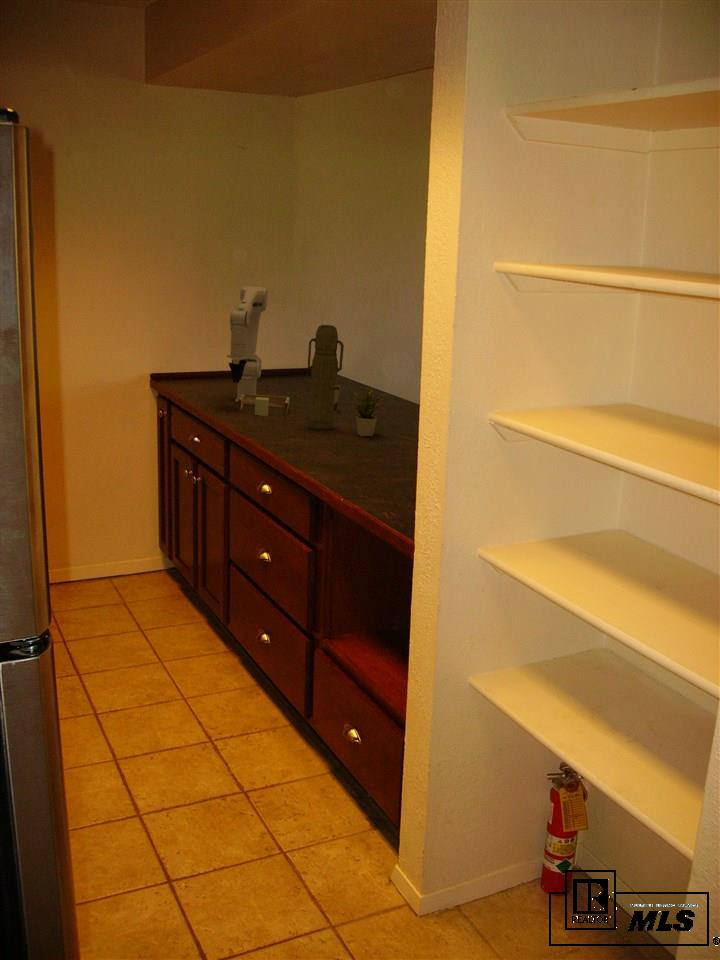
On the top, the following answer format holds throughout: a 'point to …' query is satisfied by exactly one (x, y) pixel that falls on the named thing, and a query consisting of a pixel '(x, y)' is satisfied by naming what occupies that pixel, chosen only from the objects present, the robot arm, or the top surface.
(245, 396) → the open crate
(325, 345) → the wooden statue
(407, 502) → the top surface
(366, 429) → the house plant
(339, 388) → the food container
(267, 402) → the sage block
